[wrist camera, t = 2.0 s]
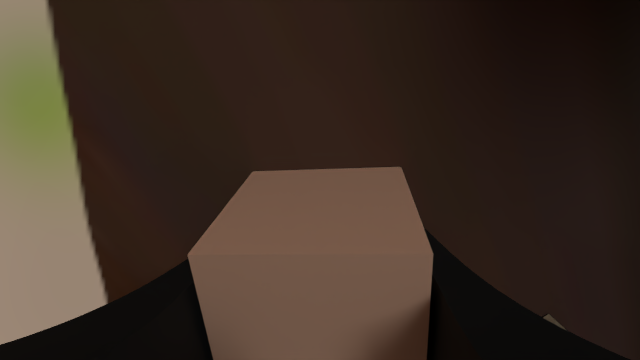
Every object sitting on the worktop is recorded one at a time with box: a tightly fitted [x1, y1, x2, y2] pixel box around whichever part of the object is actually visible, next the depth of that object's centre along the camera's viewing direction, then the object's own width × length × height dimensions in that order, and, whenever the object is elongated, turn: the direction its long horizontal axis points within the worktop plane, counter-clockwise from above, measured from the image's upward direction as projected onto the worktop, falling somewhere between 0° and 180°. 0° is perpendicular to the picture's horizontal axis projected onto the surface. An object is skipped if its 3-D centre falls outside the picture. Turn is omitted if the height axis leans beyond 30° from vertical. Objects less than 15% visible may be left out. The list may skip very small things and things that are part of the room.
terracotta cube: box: [188, 167, 433, 360], centre depth 10 cm, size 5×5×5 cm
